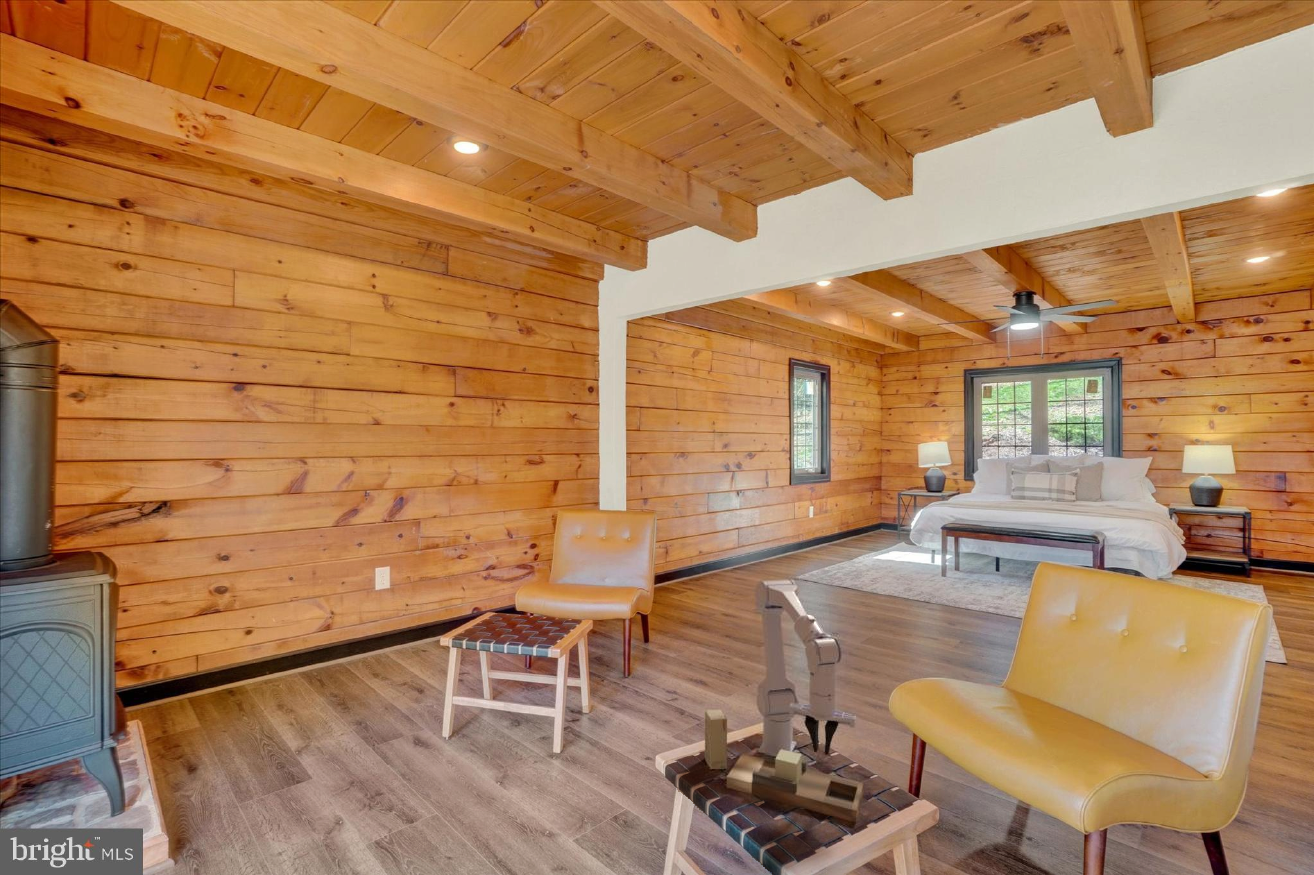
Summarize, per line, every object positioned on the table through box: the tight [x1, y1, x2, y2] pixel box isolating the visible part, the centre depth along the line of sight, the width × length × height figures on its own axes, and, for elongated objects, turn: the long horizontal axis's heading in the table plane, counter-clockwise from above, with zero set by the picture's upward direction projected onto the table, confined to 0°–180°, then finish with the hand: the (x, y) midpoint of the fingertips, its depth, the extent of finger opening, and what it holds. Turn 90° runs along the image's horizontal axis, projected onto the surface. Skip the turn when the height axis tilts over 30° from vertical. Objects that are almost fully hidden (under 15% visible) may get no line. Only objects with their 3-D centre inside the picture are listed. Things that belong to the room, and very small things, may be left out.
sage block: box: [775, 749, 803, 784], centre depth 142 cm, size 5×5×5 cm
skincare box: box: [704, 709, 728, 770], centre depth 153 cm, size 6×4×12 cm
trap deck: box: [726, 752, 865, 823], centre depth 141 cm, size 12×29×4 cm, turn 65°
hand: (821, 751), depth 139 cm, fingers closed
